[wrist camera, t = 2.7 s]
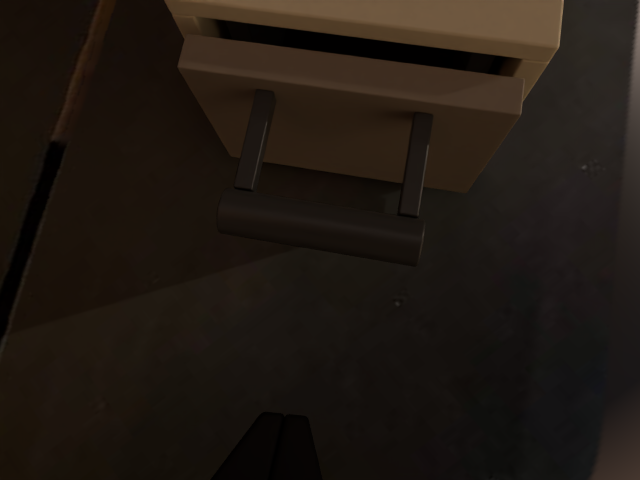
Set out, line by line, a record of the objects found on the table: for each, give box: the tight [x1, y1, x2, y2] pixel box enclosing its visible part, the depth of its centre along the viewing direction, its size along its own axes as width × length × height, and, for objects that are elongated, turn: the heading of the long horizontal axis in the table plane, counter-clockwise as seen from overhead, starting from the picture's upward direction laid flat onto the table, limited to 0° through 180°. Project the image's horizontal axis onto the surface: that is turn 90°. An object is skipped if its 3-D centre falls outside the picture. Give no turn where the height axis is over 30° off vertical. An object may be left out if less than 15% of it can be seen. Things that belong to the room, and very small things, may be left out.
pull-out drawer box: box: [177, 20, 525, 267], centre depth 20 cm, size 17×10×7 cm, turn 169°
